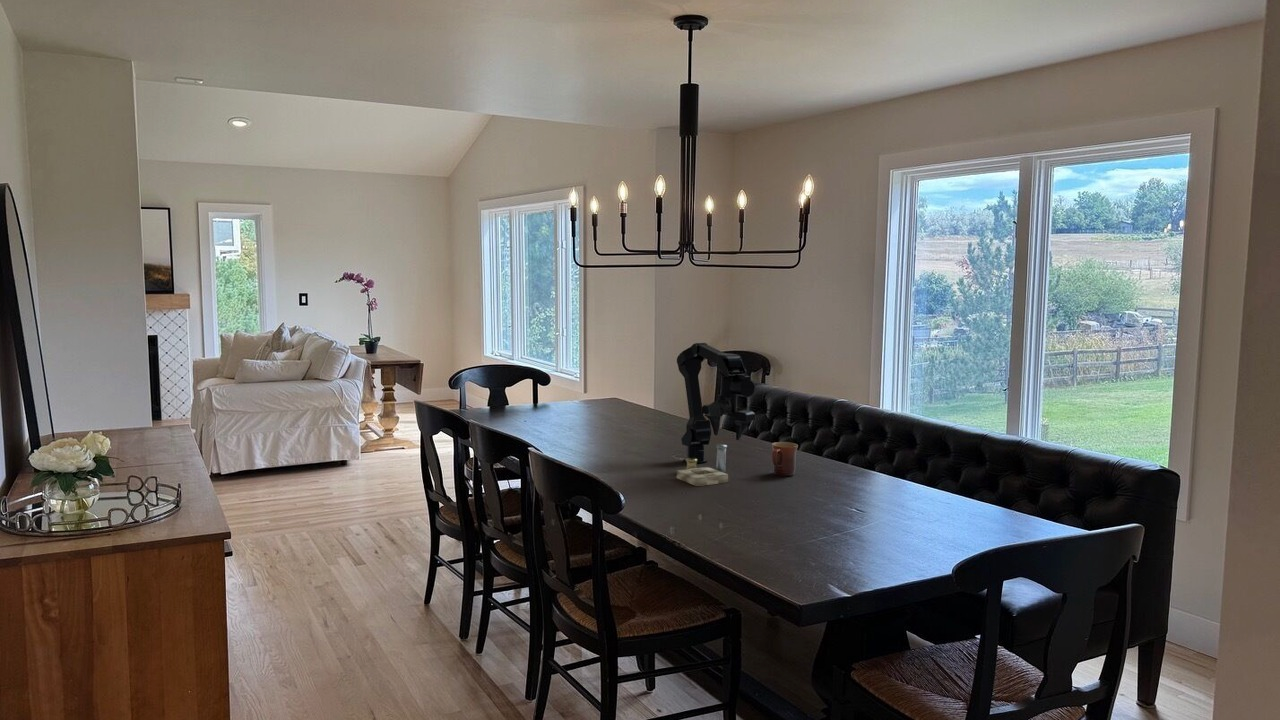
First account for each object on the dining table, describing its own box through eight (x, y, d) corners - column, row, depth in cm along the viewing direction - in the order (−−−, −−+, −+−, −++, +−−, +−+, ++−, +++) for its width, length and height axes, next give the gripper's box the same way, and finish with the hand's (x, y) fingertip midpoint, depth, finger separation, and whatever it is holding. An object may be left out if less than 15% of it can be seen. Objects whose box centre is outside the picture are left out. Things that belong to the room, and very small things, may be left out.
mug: (778, 470, 301) (779, 441, 300) (801, 474, 296) (802, 444, 295) (761, 476, 291) (762, 446, 290) (784, 480, 286) (785, 449, 285)
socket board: (676, 478, 287) (676, 470, 287) (707, 474, 293) (707, 466, 293) (696, 486, 277) (697, 477, 276) (727, 482, 283) (728, 474, 282)
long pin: (713, 470, 299) (713, 444, 298) (722, 469, 301) (722, 443, 300) (719, 472, 296) (720, 446, 295) (728, 471, 298) (729, 445, 297)
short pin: (683, 471, 297) (683, 458, 296) (693, 470, 298) (693, 457, 298) (689, 474, 293) (690, 460, 293) (699, 472, 295) (699, 459, 295)
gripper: (692, 390, 293) (690, 436, 295) (736, 398, 280) (734, 446, 282) (712, 387, 301) (710, 431, 303) (757, 395, 288) (754, 441, 290)
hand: (726, 437), depth 294 cm, fingers open, 9 cm apart
